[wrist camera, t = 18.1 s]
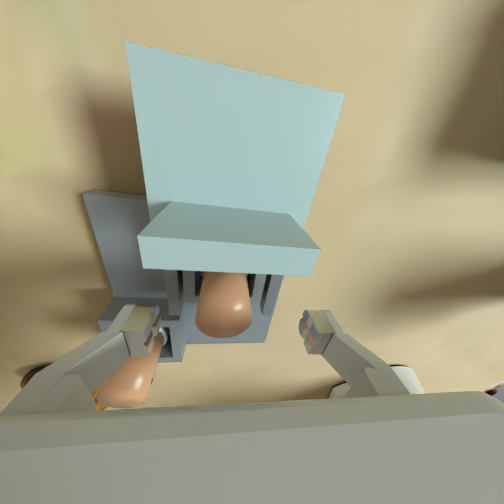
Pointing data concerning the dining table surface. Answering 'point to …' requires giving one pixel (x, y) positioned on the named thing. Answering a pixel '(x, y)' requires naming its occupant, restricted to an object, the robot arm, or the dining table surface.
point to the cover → (227, 164)
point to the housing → (157, 295)
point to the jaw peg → (223, 304)
